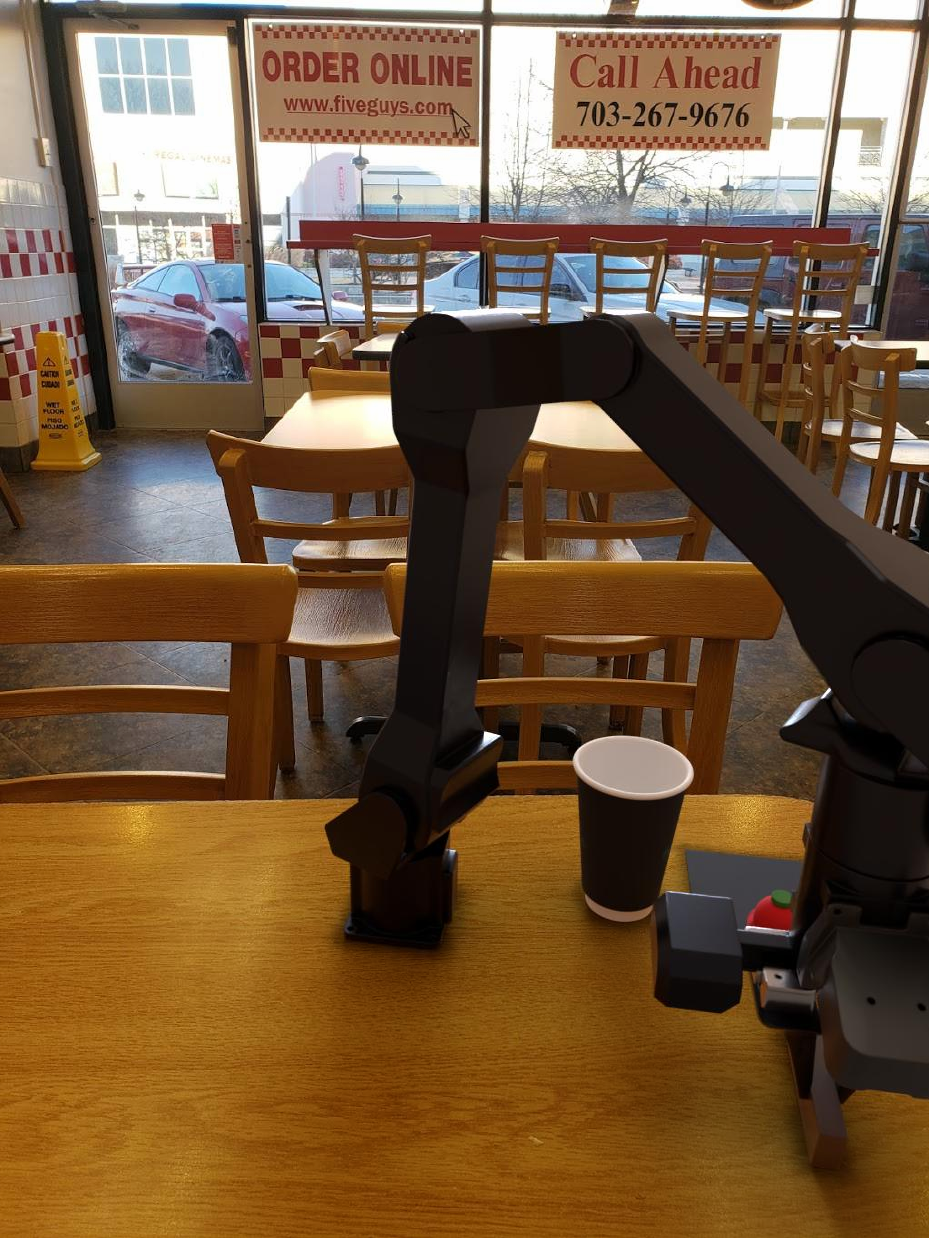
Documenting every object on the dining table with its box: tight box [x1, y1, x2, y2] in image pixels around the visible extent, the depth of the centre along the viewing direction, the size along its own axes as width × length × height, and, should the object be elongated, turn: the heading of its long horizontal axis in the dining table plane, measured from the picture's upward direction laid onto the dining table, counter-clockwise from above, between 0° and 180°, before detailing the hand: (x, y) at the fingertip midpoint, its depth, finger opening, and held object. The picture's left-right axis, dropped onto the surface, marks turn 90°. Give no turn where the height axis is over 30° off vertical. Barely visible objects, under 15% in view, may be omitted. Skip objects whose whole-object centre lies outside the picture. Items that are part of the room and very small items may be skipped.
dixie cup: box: [572, 735, 695, 923], centre depth 64 cm, size 8×8×11 cm
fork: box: [786, 1006, 849, 1171], centre depth 53 cm, size 15×3×2 cm, turn 172°
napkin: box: [684, 849, 803, 930], centre depth 67 cm, size 10×10×1 cm
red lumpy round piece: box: [747, 890, 792, 931], centre depth 62 cm, size 4×3×4 cm
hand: (818, 1094), depth 49 cm, fingers closed on fork, 1 cm apart
